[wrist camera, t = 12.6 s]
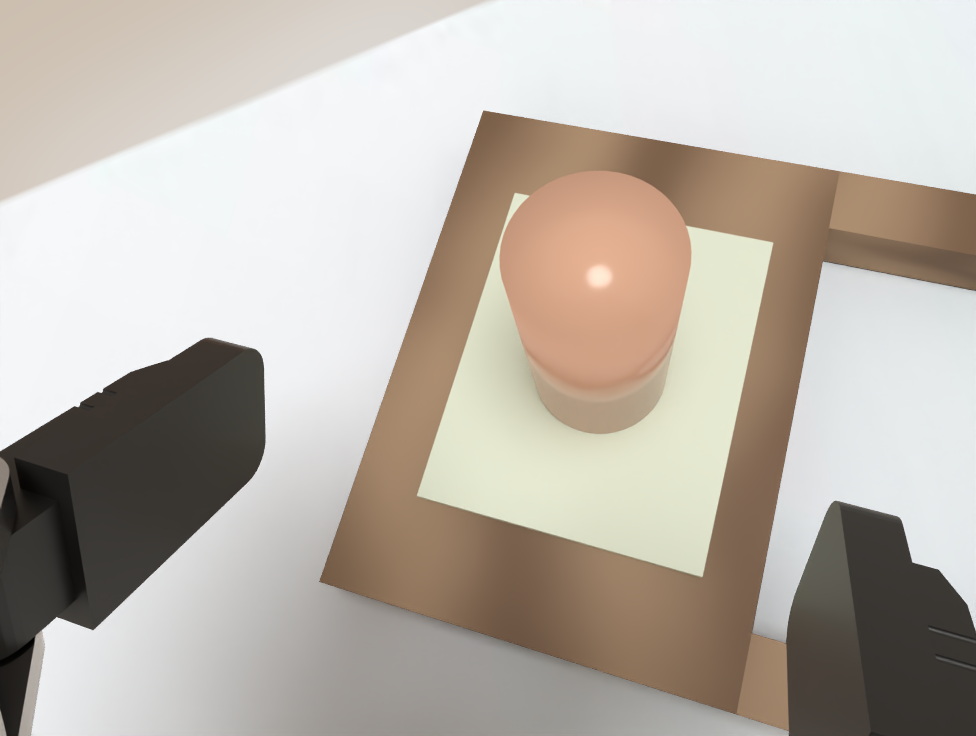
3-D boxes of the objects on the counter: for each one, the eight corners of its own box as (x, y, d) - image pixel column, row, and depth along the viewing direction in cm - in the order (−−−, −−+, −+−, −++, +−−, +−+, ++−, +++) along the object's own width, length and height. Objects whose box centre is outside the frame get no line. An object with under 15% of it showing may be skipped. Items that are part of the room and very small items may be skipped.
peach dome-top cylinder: (681, 325, 23) (711, 190, 16) (648, 449, 22) (664, 364, 15) (554, 295, 24) (530, 155, 17) (517, 413, 23) (474, 317, 16)
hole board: (1261, 284, 24) (1327, 247, 21) (1253, 876, 19) (1336, 905, 17) (491, 145, 29) (481, 105, 27) (340, 587, 24) (315, 581, 22)
